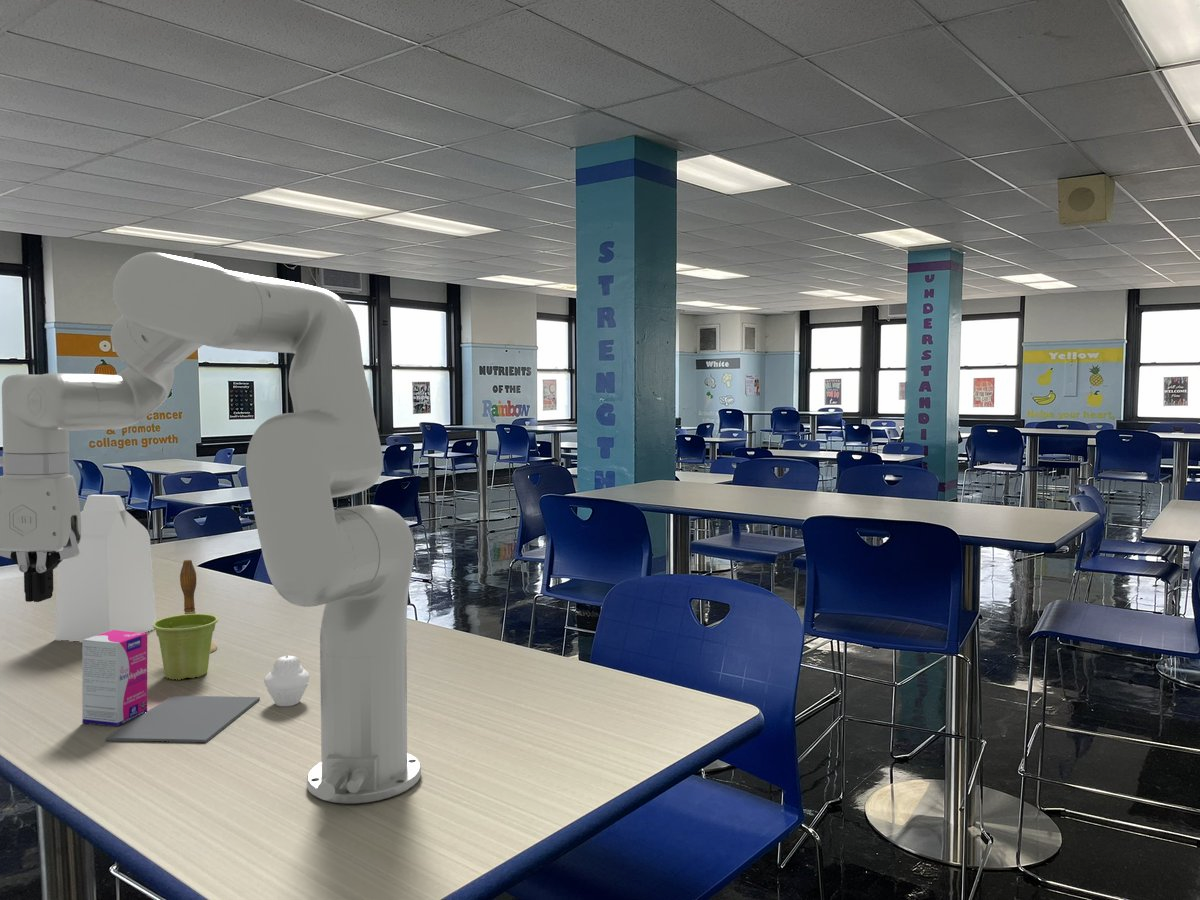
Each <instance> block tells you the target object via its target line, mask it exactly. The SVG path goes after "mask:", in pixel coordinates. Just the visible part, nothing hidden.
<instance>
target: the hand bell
mask: <svg viewBox="0 0 1200 900" xmlns="http://www.w3.org/2000/svg"><path fill="white" fill-rule="evenodd" d="M179 584H180V589H181V591H182V593H183V603H184V604H183V607H184V608H183V611H184V615H185V614H196V608H195V592H196V588H197V572H196V569H195V567H194V564H193V561H192V560H191V559H186V560H185V559H184V560H183V563H182V567H181V570H180V574H179ZM217 649H218V646H217V644H216V643H215V642H214V641H213V640H212V641H211V648H210V654H211V653H213V652H215V651H216V650H217Z"/></svg>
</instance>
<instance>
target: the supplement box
mask: <svg viewBox="0 0 1200 900" xmlns="http://www.w3.org/2000/svg"><path fill="white" fill-rule="evenodd" d="M81 643H82V652H81V653H82V655H81V656H82V663H81V664H82V668H81V669H82V675H81V676H82V682H81V683H82V685H81V687H82V688H81V689H82V691H81V692H82V693H81V695H82V700H81V701H82V702H81V703H82V705H81V706H82V710H81V711H82V719H81V723H82V724H84V723H89V724H88V725H95V724H98V725H99V726H105V725H107V726H106V727H119V726H121V725H122V724H124V723H127V722H129V721H131V720H134V719H136V718H138V717H139V716H141V714H142V715H143V714H144V713H145V712H147V711H148V632H146V633H141V632H128V631H119V630H112V631H109V632H106V633H103V634H100V635H96V636H93V637H90V638H87V639H84V640H83V641H82V642H81Z"/></svg>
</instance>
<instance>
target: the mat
mask: <svg viewBox="0 0 1200 900" xmlns="http://www.w3.org/2000/svg"><path fill="white" fill-rule="evenodd" d="M260 700H261V697H260V696H215V695H214V696H212V695H211V696H210V695H209V696H207V695H171V696H169V697H168V698H165V700H163V701H161V702H160V703H158V704H157V705H155V706H153V707H152V708H150V709H149V710H147V712H146V713H144V714H142V715H139V716H137V717H135V718H134V719H132V721H130V722H129V723H126V724H125V725H124V726H122V727H120V728H119V729H117V730H116V731H114V732H113V733H111V734H110V735H108V736H107V737H106V738H105V741H106V742H140V741H162V742H161V743H164V742H163V741H167V742H166V743H195V742H204V743H203V744H205V742H206V743H208V742H209V741H210V740H211V739H213V738H214V737H215V736H217V735H218V734H219V733H220V732H221V731H222V730H224V729H226V728H227V727H228V726H230V724H232V723H233V722H234V721H235V720H236V719H238V718H239V717H240V716H242V715H243V714H244V713H245V712H247V711H248V710H249V709H250V708H251V707H253V706H254V705H255V704H256V703H258V702H259V701H260ZM217 733H218V734H217ZM107 740H108V741H107ZM168 741H169V742H168Z"/></svg>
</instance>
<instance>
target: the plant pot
mask: <svg viewBox="0 0 1200 900" xmlns="http://www.w3.org/2000/svg"><path fill="white" fill-rule="evenodd" d="M218 622H219V617H218V616H216V615H213V614H208V613H195V614H185V613H184V614H178V615H171V616H167V617H163V618H160V619H157V621H155V622H154V623H153V628H155V634H156V636H157V637H158V641H159V647H160V648H159V649H160V653H161V658H162V664H163V665H162V666H163V671H164V676H165V678H166V679H168V678H169V679H168V680H174V679H176V680H175V681H181V679H182V680H184V679H186V678H189V679H196V678H195V677H197V678H199V677H202V676H204V675H207V673H208V671H209V662H210V655H211V653H210V648H211V641H212V642H213V634H214V631H215V628H216V624H217V623H218ZM177 679H178V680H177Z"/></svg>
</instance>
